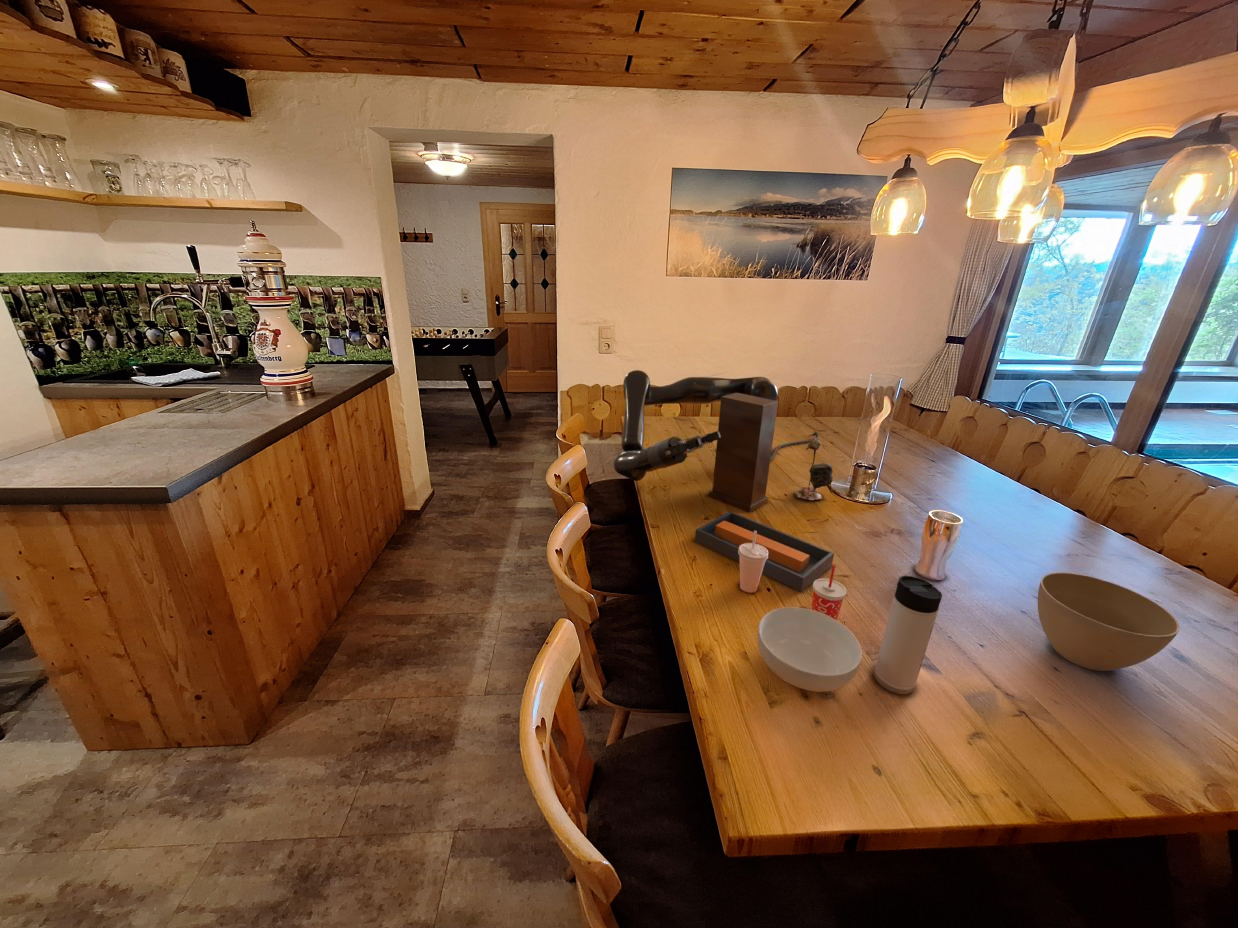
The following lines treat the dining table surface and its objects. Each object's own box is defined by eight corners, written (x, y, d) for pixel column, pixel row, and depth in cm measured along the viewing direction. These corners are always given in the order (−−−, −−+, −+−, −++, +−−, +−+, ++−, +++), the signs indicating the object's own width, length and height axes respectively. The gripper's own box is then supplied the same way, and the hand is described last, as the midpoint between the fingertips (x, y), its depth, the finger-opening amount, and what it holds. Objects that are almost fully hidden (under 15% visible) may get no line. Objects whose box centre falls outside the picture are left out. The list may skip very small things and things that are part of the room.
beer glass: (942, 568, 118) (959, 512, 112) (950, 584, 112) (968, 526, 106) (910, 562, 120) (924, 507, 115) (915, 578, 114) (931, 520, 108)
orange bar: (723, 530, 133) (724, 520, 132) (807, 566, 117) (809, 555, 116) (714, 535, 130) (715, 525, 129) (800, 572, 114) (801, 561, 113)
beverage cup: (799, 623, 98) (810, 563, 93) (815, 611, 102) (827, 553, 97) (828, 639, 94) (841, 578, 89) (844, 626, 98) (857, 566, 93)
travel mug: (864, 668, 87) (888, 573, 80) (899, 666, 88) (926, 571, 81) (885, 696, 81) (913, 596, 74) (922, 693, 82) (953, 594, 75)
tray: (729, 522, 138) (730, 511, 137) (831, 565, 118) (834, 552, 117) (694, 541, 128) (695, 529, 127) (800, 591, 108) (803, 578, 107)
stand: (726, 487, 161) (736, 391, 149) (767, 502, 151) (781, 400, 139) (708, 495, 155) (717, 396, 143) (749, 511, 144) (763, 406, 133)
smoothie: (760, 580, 112) (768, 526, 107) (765, 597, 106) (774, 541, 101) (732, 578, 113) (738, 524, 108) (735, 595, 107) (742, 539, 102)
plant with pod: (829, 505, 149) (841, 443, 142) (791, 498, 154) (801, 437, 147) (832, 495, 156) (843, 436, 149) (795, 488, 161) (804, 430, 153)
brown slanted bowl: (1117, 706, 80) (1147, 648, 76) (1000, 636, 96) (1019, 584, 91) (1171, 674, 87) (1201, 619, 83) (1053, 613, 102) (1074, 564, 98)
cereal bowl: (736, 669, 87) (740, 637, 84) (779, 624, 98) (784, 594, 95) (832, 726, 76) (841, 691, 73) (868, 668, 87) (876, 636, 85)
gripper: (645, 446, 134) (687, 429, 122) (678, 435, 143) (720, 419, 131) (654, 472, 134) (697, 458, 121) (687, 460, 143) (730, 445, 131)
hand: (709, 438), depth 126 cm, fingers open, 8 cm apart
